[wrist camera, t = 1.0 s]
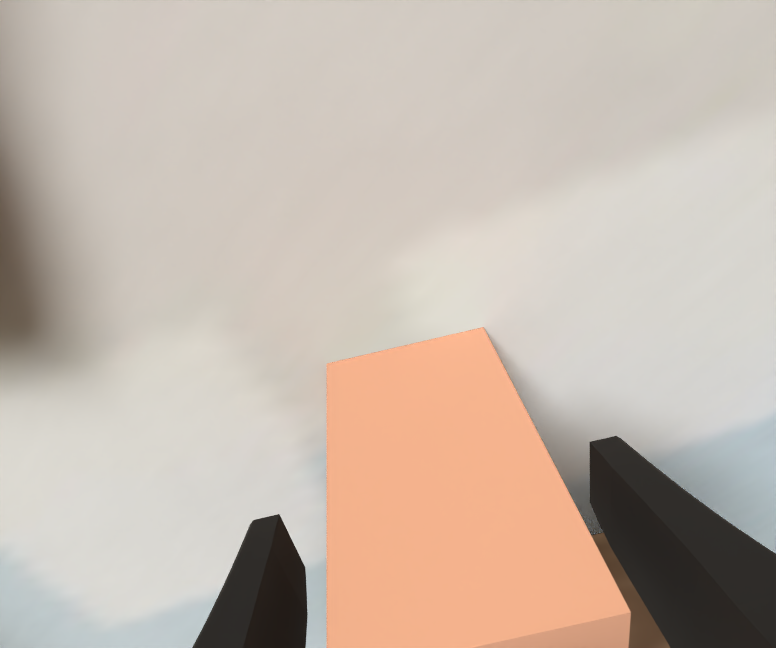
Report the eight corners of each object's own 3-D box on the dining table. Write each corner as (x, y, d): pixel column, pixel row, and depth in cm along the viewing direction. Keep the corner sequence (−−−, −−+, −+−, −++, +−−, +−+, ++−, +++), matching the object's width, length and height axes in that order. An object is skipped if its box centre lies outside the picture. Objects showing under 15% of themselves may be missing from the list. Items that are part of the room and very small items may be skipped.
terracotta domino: (483, 327, 16) (630, 612, 8) (490, 377, 17) (626, 673, 9) (326, 363, 16) (326, 679, 8) (342, 411, 17) (355, 733, 9)
